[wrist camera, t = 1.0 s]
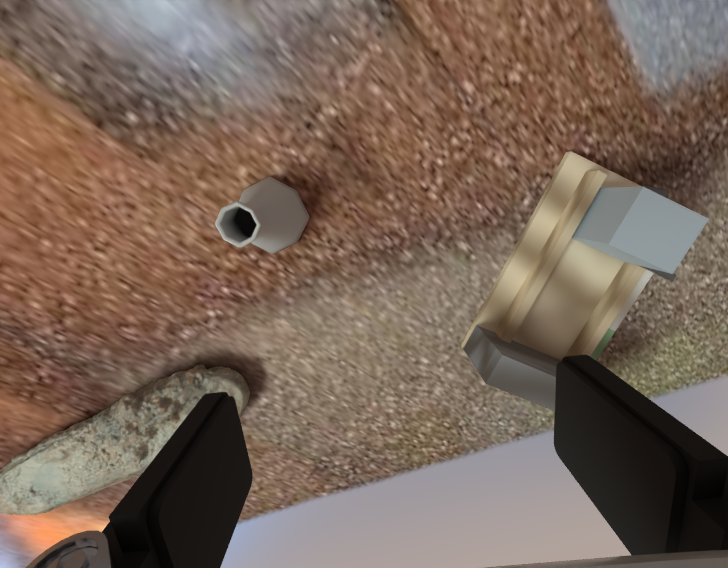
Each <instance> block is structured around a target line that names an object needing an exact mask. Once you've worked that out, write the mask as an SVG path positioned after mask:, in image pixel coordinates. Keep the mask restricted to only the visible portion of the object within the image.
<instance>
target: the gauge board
mask: <svg viewBox="0 0 728 568" xmlns="http://www.w3.org/2000/svg"><path fill="white" fill-rule="evenodd" d="M613 187H642V186H640V185H638V184H636V183H634V182H632V181H630V180H628V179H626V178H624V177H622V176H620V175H618V174H616V173H614V172H612V171H610V170H608V169H606V168H604V167H602V166H600V165H598V164H596V163H594V162H591V161H589V160H587V159H585V158H583V157H581V156H579V155H577V154H575V153H573V152H571V151H570V152H566V153H565V155H564V157H563V159H562V161H561V162H560V164H559V166H558V168H557V170H556V172H555V174H554V175H553V177H552V179H551V181H550V183H549V185H548V186H547V188H546V190H545V192H544V194H543V196H542V197H541V199H540V201H539V203H538V205H537V207H536V209H535V210H534V212H533V214H532V216H531V218H530V220H529V221H528V223H527V225H526V227H525V229H524V231H523V232H522V234H521V236H520V238H519V240H518V242H517V244H516V245H515V247H514V249H513V251H512V253H511V255H510V256H509V258H508V260H507V262H506V264H505V266H504V267H503V269H502V271H501V273H500V275H499V277H498V279H497V280H496V282H495V284H494V286H493V288H492V290H491V291H490V293H489V295H488V297H487V299H486V301H485V302H484V304H483V306H482V308H481V310H480V312H479V314H478V315H477V317H476V319H475V321H474V323H473V325H472V326H471V328H470V330H469V332H468V334H467V336H466V338H465V339H464V341H463V343H462V345H461V346H462V348H463V349H464V351H465V352H466V354H467V355H468V357H469V358H470V360H471V361H472V363H473V364H474V366H475V368H476V369H477V371H478V372H479V374H480V375H481V377H482V378H483V380H484V381H485V383H486V384H489V385H491V386H493V387H496V388H498V389H501V390H503V391H506V392H508V393H511V394H513V395H516V396H518V397H521V398H523V399H526V400H528V401H531V402H533V403H536V404H538V405H541V406H543V407H546V408H548V409H551V410H553V411H555V392H556V367H557V364H558V363H559V362H562V359H563V358H564V357H565V356H574V355H588V356H590V357H591V358H593V359H594V360H597V359H598V357H599V356H600V354H601V353H602V351H603V349H604V348H605V346H606V345H607V343H608V342H609V340H610V339H611V337H612V336H613V334H614V333H615V331H616V330H617V328H618V327H619V325H620V323H621V322H622V320H623V319H624V317H625V316H626V314H627V313H628V311H629V310H630V308H631V307H632V305H633V304H634V302H635V301H636V299H637V298H638V296H639V294H640V293H641V291H642V290H643V288H644V287H645V285H646V284H647V282H648V281H649V279H650V278H651V276H652V275H653V272H651V271H649V270H646V269H644V268H642V267H640V266H638V265H635V264H631V263H627V262H624V261H620V260H618V259H616V258H614V257H612V256H610V255H607V254H605V253H603V252H601V251H599V250H597V249H595V248H592V247H590V246H588V245H586V244H584V243H582V242H580V241H577V240H575V239H573V238H571V237H572V235H573V234H574V232H575V230H576V228H577V227H578V225H579V223H580V222H581V220H582V218H583V216H584V215H585V213H586V211H587V209H588V208H589V206H590V204H591V203H592V201H593V199H594V197H595V196H596V194H597V192H598V190H599V189H600V188H613Z"/></svg>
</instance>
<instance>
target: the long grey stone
mask: <svg viewBox="0 0 728 568" xmlns="http://www.w3.org/2000/svg"><path fill="white" fill-rule="evenodd" d="M217 392H227V393H228V395H229V396H233V397H234V398H235V401H236V406H237V410H238V414H239V416H241V415H242V413H243V412H244V410H245V407H246V405H247V404H248V402H249V396H250V390H249V387H248V385H247V383H246V382H245V379H244V378H243V377H242V375H240V374H239V373H238V372H237V371H235V370H232V369H231V368H229V367H228V368H225V367H222V366H220V367H214V368H210V369H206V368H205V365H197V366H195V367H194V368H193V369H189V370H187V371H178V372H175V373H173V374H172V375H171V376H169V377H166V378H160V379H159V380H158V381H157V382H151V383H150V384H149V385H148V386H146V387H143V388H142V389H139V390H138V391H137V392H136V393H135V394H132V393H129V394H126V395H124V396H123V397H122V398H121V399H120V400H118V401H117V402H116V403H114V404H113V405H112V406H109V407H108V408H106V409H105V410H103V411H101V412H99V413H98V414H97V415H94V416H93V417H92V418H90V419H87V420H84V421H82V422H79V423H76V424H74V425H72V426H71V427H70V428H68V429H66V430H64V431H57V432H56V433H54V434H53V435H52V436H50V437H48V438H46V439H44V440H43V441H41V442H40V443H39V444H38V445H37V446H35V447H33V448H32V449H30V450H28V451H25V452H23V453H21V454H19V455H17V456H15V457H13V459H12V461H11V462H9V463H8V464H7V465H6V466H5V467H3V468H2V469H0V513H5V514H10V515H12V514H15V515H33V514H35V515H36V514H40V513H46V512H49V511H51V510H53V509H55V508H57V507H59V506H62V505H64V504H67V503H69V502H71V501H74V500H78V499H80V498H82V497H85V496H89V495H93V494H97V493H98V492H100V491H101V490H102V489H104V488H106V487H109V486H112V485H115V484H117V483H121V482H123V481H126V480H130V479H132V478H134V477H135V476H138V475H140V474H142V473H143V472H144V471H145V469H146V468H147V467H148V466H149V464H150V463H151V462H152V460H153V459H154V458H155V457H156V455H157V454H158V453H159V452H160V450H161V449H162V448H163V446H164V445H165V444H166V443H167V441H168V440H169V439H170V437H171V436H172V435H173V434H174V432H175V431H176V430H177V428H178V427H179V426H180V425H181V423H182V422H183V421H184V419H185V418H186V417H187V416H188V414H189V413H190V412H191V410H192V409H193V408H194V407H195V405H196V404H197V403H198V402H199V400H200V399H201V398H202V396H203V395H204V394H207V393H217Z"/></svg>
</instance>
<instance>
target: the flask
mask: <svg viewBox="0 0 728 568" xmlns="http://www.w3.org/2000/svg"><path fill="white" fill-rule="evenodd" d="M309 218H310V216H309V214H308V212H307V210H306V208H305V206H304V204H303V202H302V200H301V198H300V196H299V194H298V192H297V190H295V189H293V188H291V187H289V186H287V185H285V184H284V183H282V182H280V181H278V180H276V179H274V178H272V177H271V176H269V177H267V178H265V179H263V180H261V181H259V182H257V183H255V184H253V185H251V186H249V187H247V188H245V189H244V191H243V193H242V195H241V198H240V200H239V201H235V202H233V203H231V204H229V205H227V206H225V207H223V208H221V211H220V213H219V215H218V218H217V220H216V222H215V225H216V227H217V229H218V230H219V232H220V234H221V236H222V237H223V239H224V240H225V241H227V242H229V243H231V244H233V245H235V246H237V247H239V248H240V247H242V246H244V245H247V244H249V243H252V244H254V245H256V246H258V247H260V248H262V249H264V250H266V251H268V252H270V253H272V254H274V253H277V252H279V251H281V250H283V249H285V248H287V247H289V246H291V245H293V244H295V243H297V242H298V241H299V239H300V237H301V235H302V232H303V230H304V228H305V226H306V224H307V222H308V220H309Z"/></svg>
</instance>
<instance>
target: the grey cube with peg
mask: <svg viewBox="0 0 728 568" xmlns="http://www.w3.org/2000/svg"><path fill="white" fill-rule="evenodd" d="M667 195H668V193H667V192H666V191H664V190H662V189H659V188H656V187H652V186H642V187H613V188H600V189H599V190H598V192H597V194H596V196H595V197H594V199H593V201H592V203H591V204H590V206H589V208H588V209H587V211H586V213H585V215H584V216H583V218H582V220H581V222H580V223H579V225H578V227H577V228H576V230H575V232H574V234H573V235H572V237H571V238H573V239H575V240H577V241H580V242H582V243H584V244H586V245H588V246H590V247H592V248H595V249H597V250H599V251H601V252H603V253H605V254H607V255H610V256H612V257H614V258H616V259H618V260H620V261H624V262H627V263H631V264H635V265H638V266H640V267H642V268H644V269H646V270H649V271H651V272H653V273H655V274H657V275H659V276H662V277H664V278H666V279H668V280H672V281H673V280H674V278H675V277H676V275H675V274H673V272H674V271H675V269H676V268H677V266H678V265H679V263H680V262H681V260H682V259H683V257H684V256H685V254H686V253H687V251H688V250H689V248H690V247H691V245H692V244H693V242H694V241H695V239H696V238H697V236H698V235H699V233H700V232H701V230H702V229H703V227H704V226H705V224H706V223H707V221H708V220H709V219H708V218H706V217H704V216H702V215H700V214H698V213H696V212H694V211H692V210H690V209H688V208H686V207H684V206H682V205H680V204H678V203H676V202H674V201H671V200H669V199H667V198H666V196H667Z"/></svg>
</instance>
